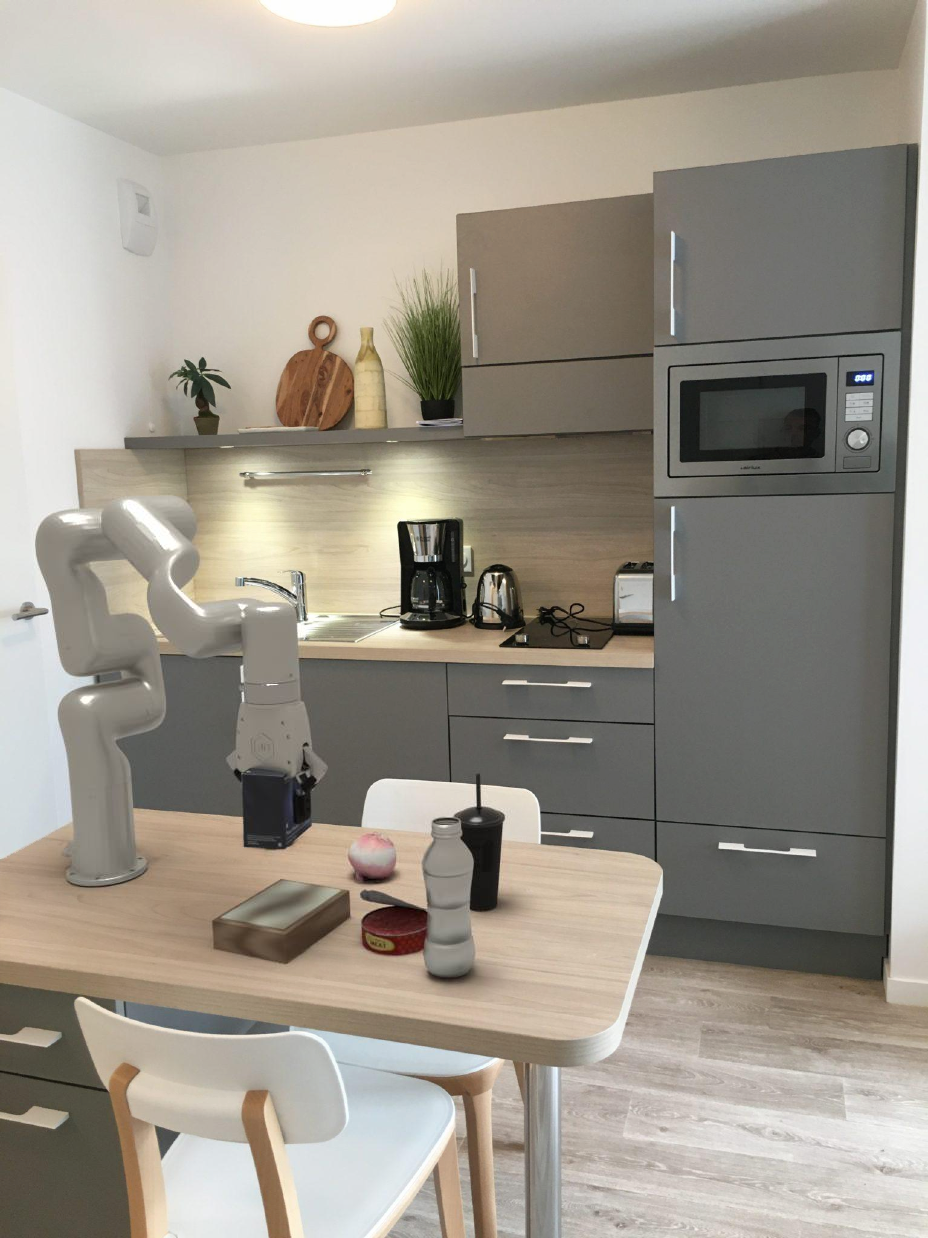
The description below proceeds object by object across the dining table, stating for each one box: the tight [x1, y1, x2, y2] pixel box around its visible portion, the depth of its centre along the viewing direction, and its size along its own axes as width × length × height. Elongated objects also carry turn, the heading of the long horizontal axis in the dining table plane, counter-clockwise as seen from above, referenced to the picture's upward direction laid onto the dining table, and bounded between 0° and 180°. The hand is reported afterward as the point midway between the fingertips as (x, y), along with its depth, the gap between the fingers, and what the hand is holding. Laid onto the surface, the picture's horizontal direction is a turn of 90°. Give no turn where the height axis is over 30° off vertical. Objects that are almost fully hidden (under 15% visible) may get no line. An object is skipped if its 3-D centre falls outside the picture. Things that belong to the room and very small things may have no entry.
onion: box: [347, 831, 397, 884], centre depth 161 cm, size 8×8×7 cm
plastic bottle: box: [421, 816, 476, 978], centre depth 127 cm, size 6×7×20 cm
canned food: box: [359, 888, 428, 957], centre depth 138 cm, size 11×10×10 cm
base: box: [211, 878, 352, 964], centre depth 141 cm, size 12×16×4 cm
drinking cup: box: [452, 773, 506, 912], centre depth 148 cm, size 8×8×20 cm
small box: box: [240, 768, 313, 850], centre depth 139 cm, size 11×6×10 cm, turn 168°
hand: (278, 817), depth 140 cm, fingers closed on small box, 7 cm apart
